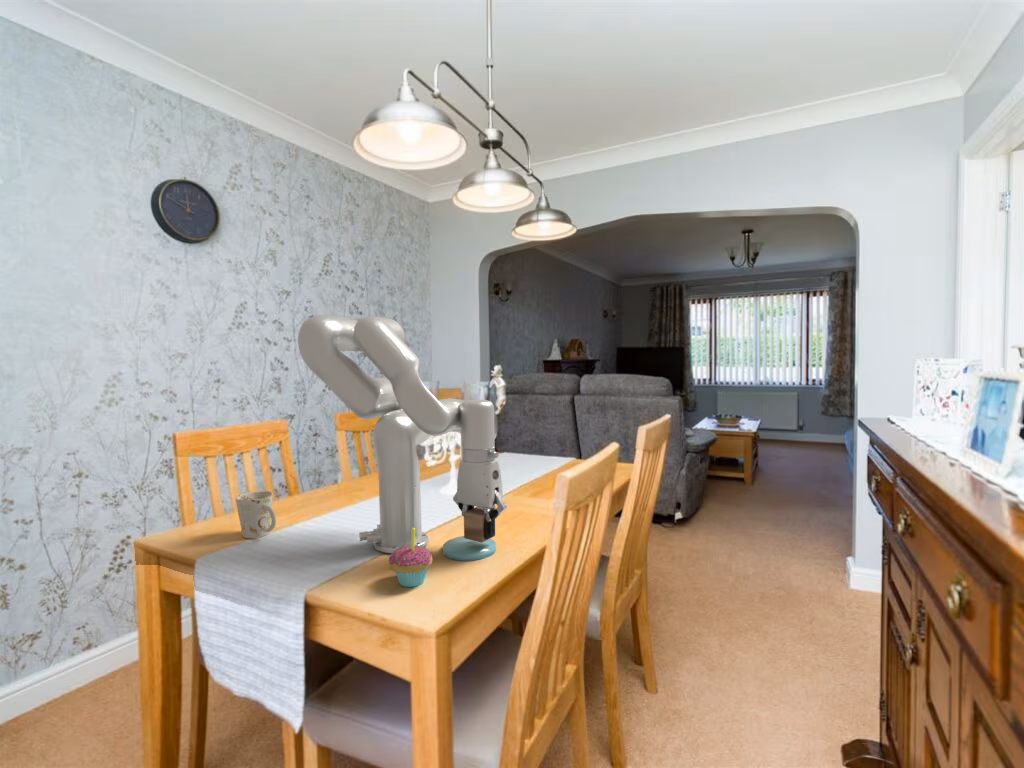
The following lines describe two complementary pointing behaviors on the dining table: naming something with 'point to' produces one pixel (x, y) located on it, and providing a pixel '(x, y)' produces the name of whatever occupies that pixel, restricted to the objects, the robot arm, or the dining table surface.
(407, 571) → the cupcake
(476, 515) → the walnut block
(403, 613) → the dining table surface
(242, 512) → the mug
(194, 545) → the dining table surface
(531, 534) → the dining table surface
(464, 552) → the teal dish
